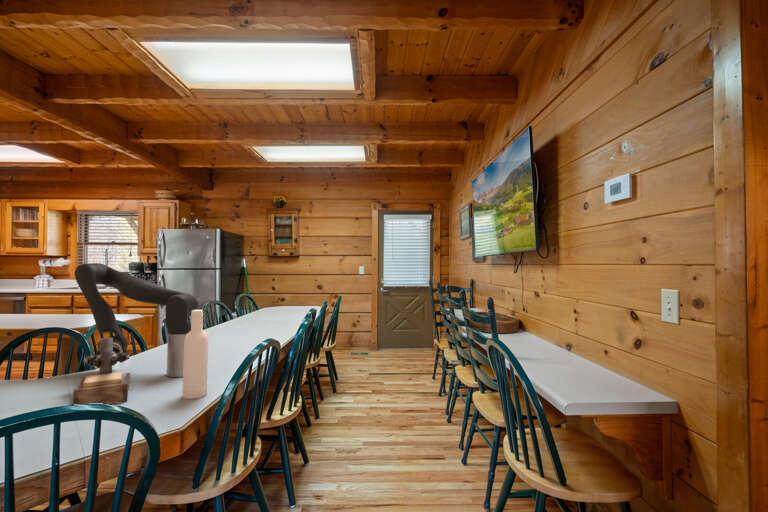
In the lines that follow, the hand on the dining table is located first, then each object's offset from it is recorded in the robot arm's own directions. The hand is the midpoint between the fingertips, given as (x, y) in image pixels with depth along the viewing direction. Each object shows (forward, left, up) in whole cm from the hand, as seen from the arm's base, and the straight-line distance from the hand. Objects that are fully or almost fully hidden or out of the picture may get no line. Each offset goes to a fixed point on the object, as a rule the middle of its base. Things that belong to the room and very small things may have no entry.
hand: (105, 363), depth 132 cm
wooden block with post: (0, +2, -10) cm, 10 cm away
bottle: (-27, +15, -11) cm, 33 cm away
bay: (0, +1, -11) cm, 11 cm away
